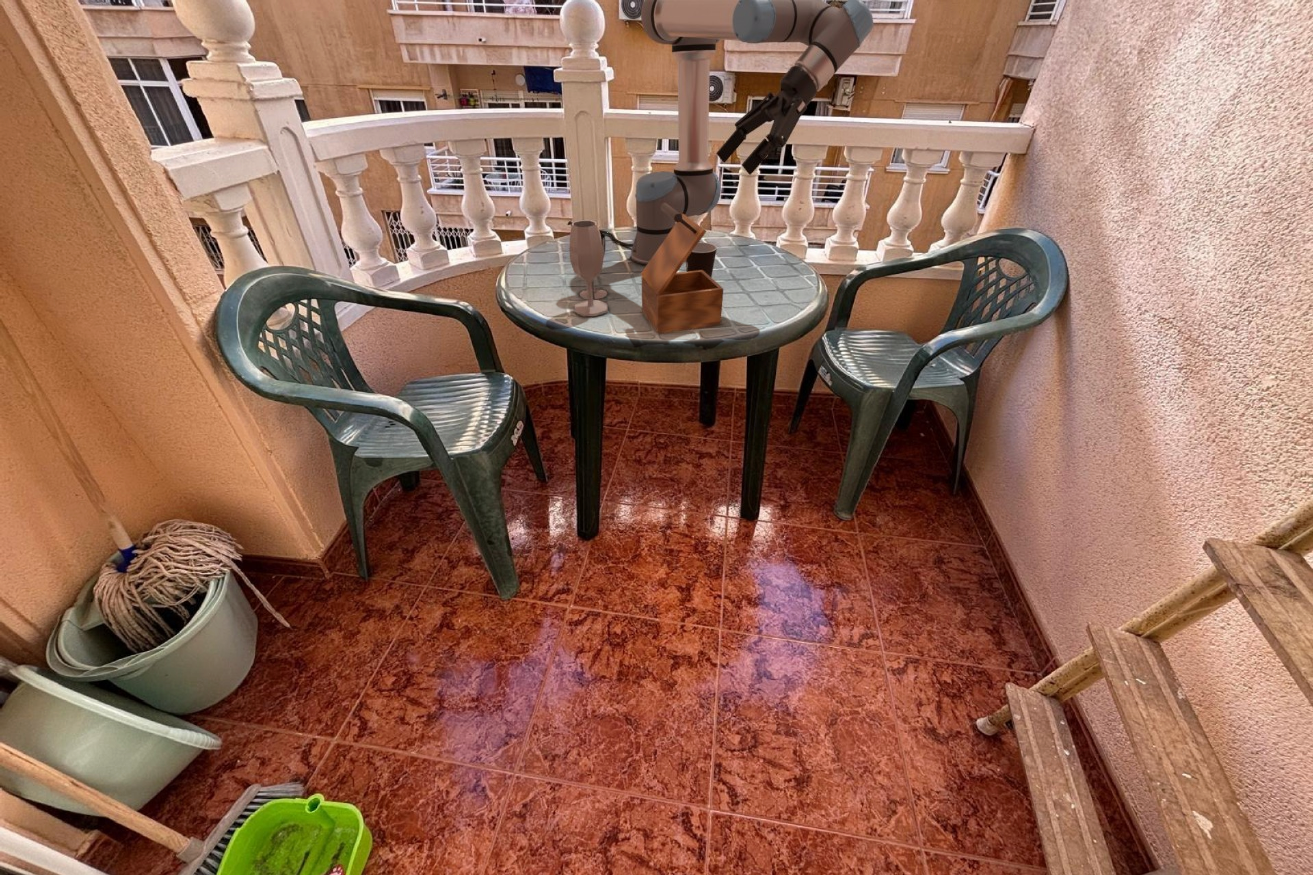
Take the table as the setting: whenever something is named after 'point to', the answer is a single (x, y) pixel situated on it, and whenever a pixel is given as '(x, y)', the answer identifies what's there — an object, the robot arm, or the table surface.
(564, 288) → the table surface
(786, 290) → the table surface
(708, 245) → the coffee mug
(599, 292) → the wine glass
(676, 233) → the lid
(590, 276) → the wineglass
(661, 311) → the chest
